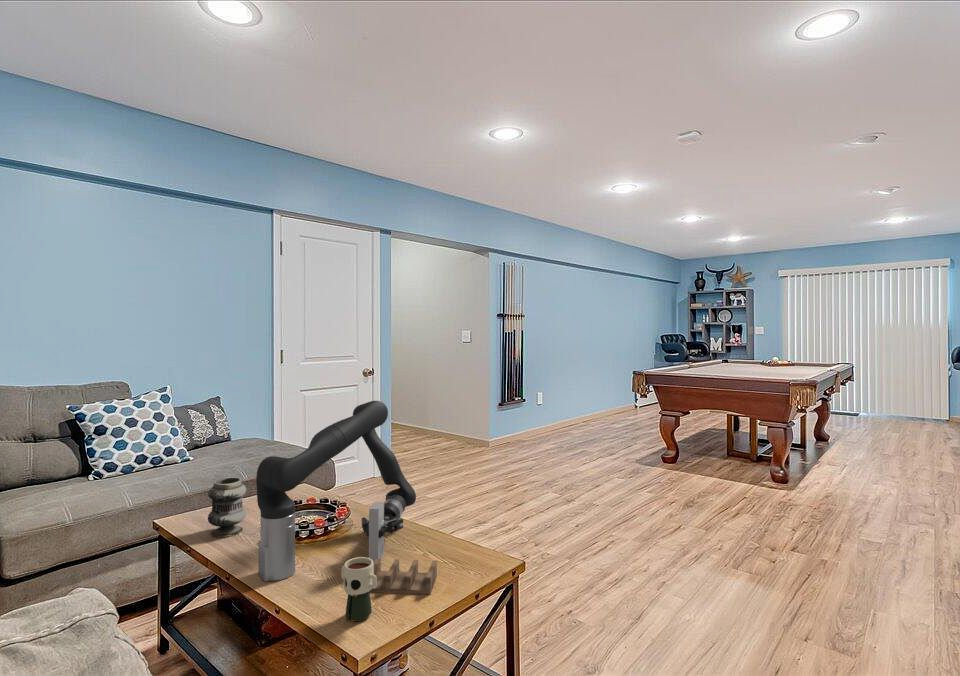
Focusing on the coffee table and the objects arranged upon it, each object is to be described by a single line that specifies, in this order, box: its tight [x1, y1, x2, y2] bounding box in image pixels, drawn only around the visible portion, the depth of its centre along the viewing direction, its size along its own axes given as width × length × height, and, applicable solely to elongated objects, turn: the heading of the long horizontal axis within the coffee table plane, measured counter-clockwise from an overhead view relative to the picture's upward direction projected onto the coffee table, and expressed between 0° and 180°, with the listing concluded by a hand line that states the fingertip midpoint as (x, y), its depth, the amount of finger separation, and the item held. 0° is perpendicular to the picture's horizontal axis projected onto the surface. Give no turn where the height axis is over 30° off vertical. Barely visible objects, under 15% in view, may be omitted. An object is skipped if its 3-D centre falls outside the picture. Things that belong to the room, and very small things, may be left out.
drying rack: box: [369, 558, 438, 595], centre depth 144 cm, size 10×17×4 cm, turn 85°
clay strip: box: [368, 501, 385, 563], centre depth 155 cm, size 6×3×16 cm, turn 175°
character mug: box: [340, 556, 377, 622], centre depth 127 cm, size 11×7×13 cm, turn 61°
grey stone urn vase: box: [207, 476, 248, 538], centre depth 180 cm, size 12×12×18 cm
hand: (373, 534), depth 152 cm, fingers closed on clay strip, 2 cm apart
